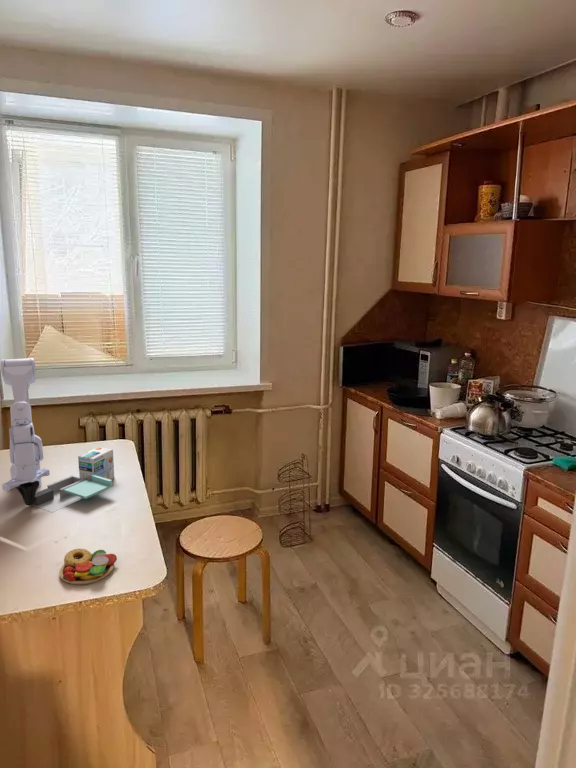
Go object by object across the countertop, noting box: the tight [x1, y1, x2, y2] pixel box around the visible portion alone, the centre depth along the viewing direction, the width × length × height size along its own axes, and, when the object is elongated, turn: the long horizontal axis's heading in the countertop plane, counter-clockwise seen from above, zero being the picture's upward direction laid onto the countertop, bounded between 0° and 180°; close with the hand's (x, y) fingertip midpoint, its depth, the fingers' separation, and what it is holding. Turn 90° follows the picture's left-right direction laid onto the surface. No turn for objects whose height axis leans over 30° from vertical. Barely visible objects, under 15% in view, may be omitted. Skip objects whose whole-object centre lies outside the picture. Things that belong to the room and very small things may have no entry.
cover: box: [64, 474, 114, 500], centre depth 172 cm, size 11×10×2 cm
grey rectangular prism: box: [33, 487, 54, 506], centre depth 170 cm, size 3×6×3 cm, turn 151°
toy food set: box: [58, 548, 118, 586], centre depth 135 cm, size 13×13×3 cm
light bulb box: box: [77, 446, 115, 480], centre depth 187 cm, size 11×7×11 cm, turn 160°
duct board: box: [31, 475, 85, 513], centre depth 174 cm, size 13×18×4 cm
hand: (29, 504), depth 166 cm, fingers closed
